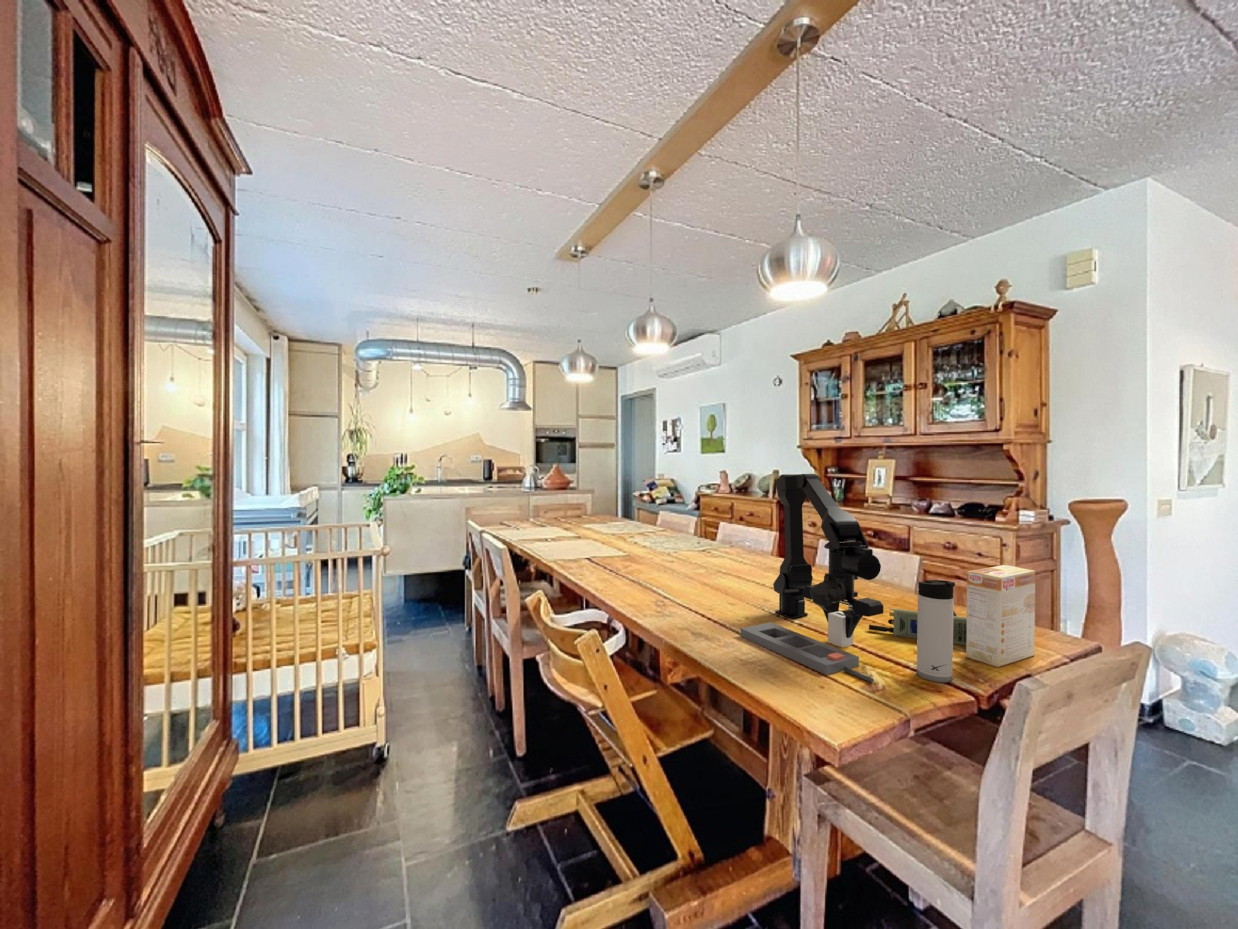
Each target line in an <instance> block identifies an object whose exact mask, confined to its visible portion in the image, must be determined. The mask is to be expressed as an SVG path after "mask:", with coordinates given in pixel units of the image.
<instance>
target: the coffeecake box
mask: <svg viewBox="0 0 1238 929" xmlns="http://www.w3.org/2000/svg"><path fill="white" fill-rule="evenodd" d="M1035 611H1036V570H1033V569H1029V568H1023V567H1019V566H1013V565H1007V564H1001V565H997V566H992V567H985V568H980V569H975V570H974V569H973V570H969V571H966V617H967V640H966V646H965V647H966V649H965V650H966V651H965V652H966V654H965V657H966V658H968V659H972V660H975V661H978V662H981V663H984V664H987V665H990V666H993V667H995V668H1000V667H1002V666H1005V665H1008V664H1011V663H1015V662H1018V661H1021V660H1025V659H1027V658H1028V659H1029V658H1030V657H1033V656H1035V629H1036V628H1035V624H1036V622H1035V621H1036V620H1035V619H1036V616H1035V614H1036V612H1035Z"/></svg>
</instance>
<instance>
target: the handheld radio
mask: <svg viewBox="0 0 1238 929" xmlns="http://www.w3.org/2000/svg"><path fill="white" fill-rule="evenodd" d="M889 610H890V611H889V617H893V619H892V618H891V619H888V620H887V623H888V624H889V625H893V627H887V626H881V625H874V624H868V630H869V631H875V632H876V631H877V632H882V633H883V632H884V633H887V632H888V633H891V634H893V635H894V636H893V637H900V638H907V639H914V640H917V622H918V611H915V610H907V609H898V608H889ZM891 611H892V612H891ZM966 640H967V616H965V617H964V616H953V645H956V644H957V645H959V646H964V647H966Z"/></svg>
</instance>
